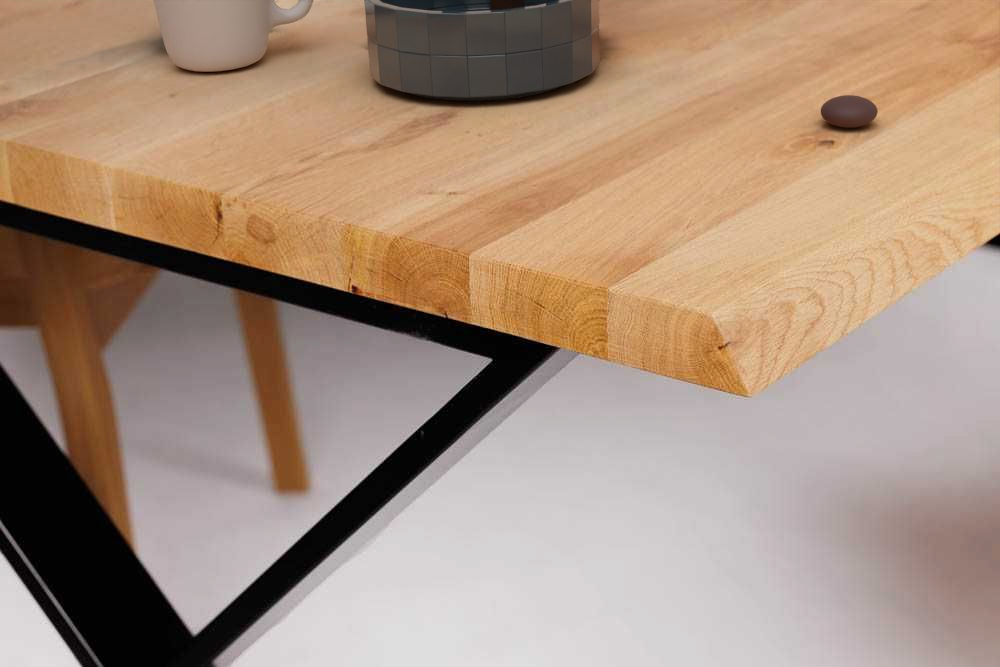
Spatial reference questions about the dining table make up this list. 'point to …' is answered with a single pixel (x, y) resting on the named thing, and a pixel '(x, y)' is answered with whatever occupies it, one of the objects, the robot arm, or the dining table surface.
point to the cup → (221, 30)
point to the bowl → (481, 47)
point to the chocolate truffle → (849, 111)
